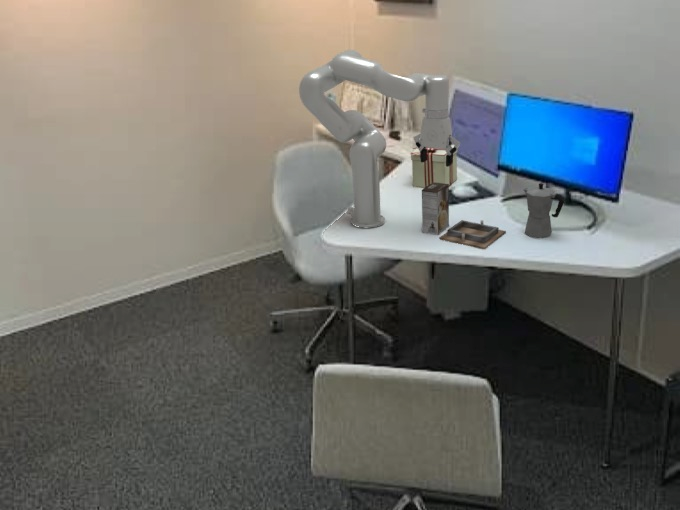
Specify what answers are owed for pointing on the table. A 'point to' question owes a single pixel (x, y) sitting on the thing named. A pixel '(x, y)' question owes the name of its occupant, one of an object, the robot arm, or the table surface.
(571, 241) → the table surface
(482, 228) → the tray
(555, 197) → the coffeepot
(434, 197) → the coffee box
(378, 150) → the robot arm
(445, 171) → the gift box
